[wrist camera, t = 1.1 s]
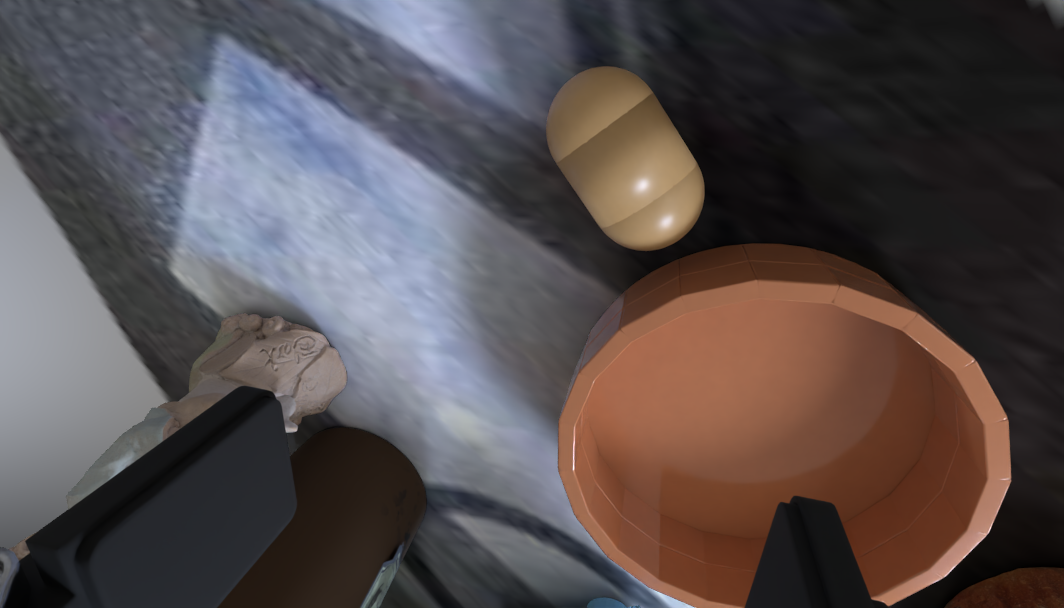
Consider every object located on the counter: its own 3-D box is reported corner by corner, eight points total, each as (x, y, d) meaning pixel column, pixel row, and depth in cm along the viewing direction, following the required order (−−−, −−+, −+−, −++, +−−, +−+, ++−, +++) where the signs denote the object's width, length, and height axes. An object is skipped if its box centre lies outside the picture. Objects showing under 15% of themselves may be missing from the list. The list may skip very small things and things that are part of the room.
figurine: (259, 425, 36) (-145, 773, 18) (208, 311, 33) (-333, 590, 15) (373, 420, 33) (34, 819, 16) (328, 296, 31) (-152, 610, 13)
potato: (537, 111, 24) (510, 119, 20) (624, 42, 22) (614, 35, 18) (632, 252, 25) (625, 286, 21) (721, 198, 24) (732, 224, 19)
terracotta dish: (838, 163, 22) (881, 186, 18) (1013, 475, 25) (1087, 561, 21) (512, 351, 29) (483, 402, 25) (682, 575, 32) (684, 655, 28)
